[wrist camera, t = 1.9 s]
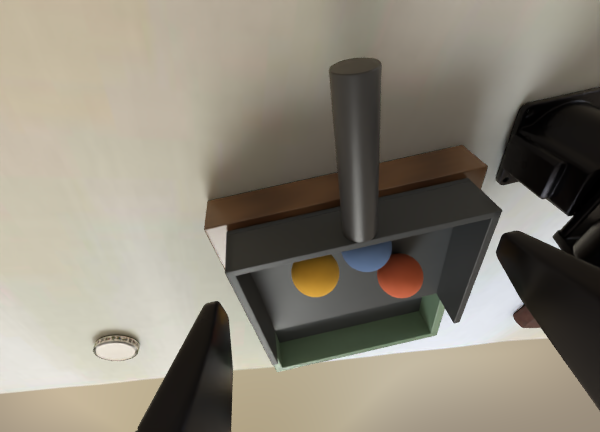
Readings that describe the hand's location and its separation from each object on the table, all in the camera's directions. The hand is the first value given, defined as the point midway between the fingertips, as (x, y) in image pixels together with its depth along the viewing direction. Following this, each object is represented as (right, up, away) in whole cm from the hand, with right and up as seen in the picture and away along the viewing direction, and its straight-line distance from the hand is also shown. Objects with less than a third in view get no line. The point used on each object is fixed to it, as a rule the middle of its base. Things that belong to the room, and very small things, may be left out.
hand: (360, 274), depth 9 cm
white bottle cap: (-21, -11, +21) cm, 32 cm away
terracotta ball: (+5, -2, +12) cm, 14 cm away
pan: (+1, +1, +11) cm, 11 cm away
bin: (+3, -8, +23) cm, 25 cm away
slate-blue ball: (+2, 0, +10) cm, 10 cm away
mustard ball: (-1, -2, +11) cm, 11 cm away
